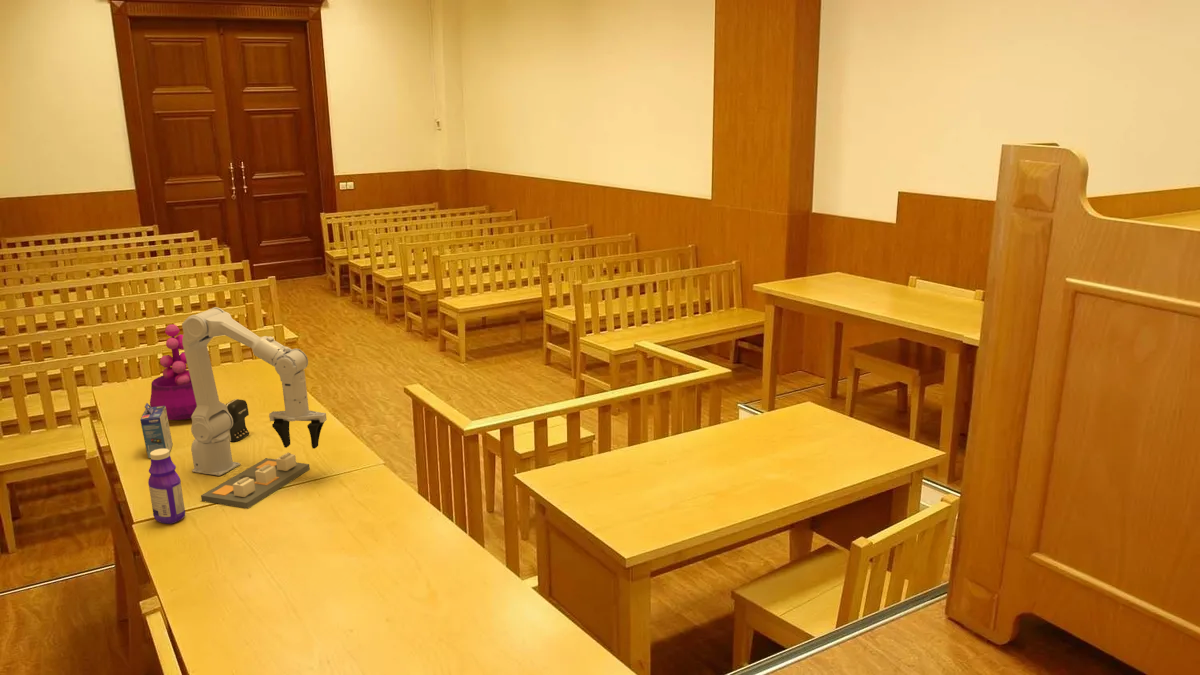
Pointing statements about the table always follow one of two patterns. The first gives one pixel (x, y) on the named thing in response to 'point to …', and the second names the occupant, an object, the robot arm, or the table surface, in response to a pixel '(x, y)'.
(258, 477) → the switch
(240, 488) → the switch
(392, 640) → the table surface
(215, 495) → the switch board
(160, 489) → the bottle
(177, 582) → the table surface
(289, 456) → the switch
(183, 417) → the decorative plant
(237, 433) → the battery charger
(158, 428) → the ink cartridge box
